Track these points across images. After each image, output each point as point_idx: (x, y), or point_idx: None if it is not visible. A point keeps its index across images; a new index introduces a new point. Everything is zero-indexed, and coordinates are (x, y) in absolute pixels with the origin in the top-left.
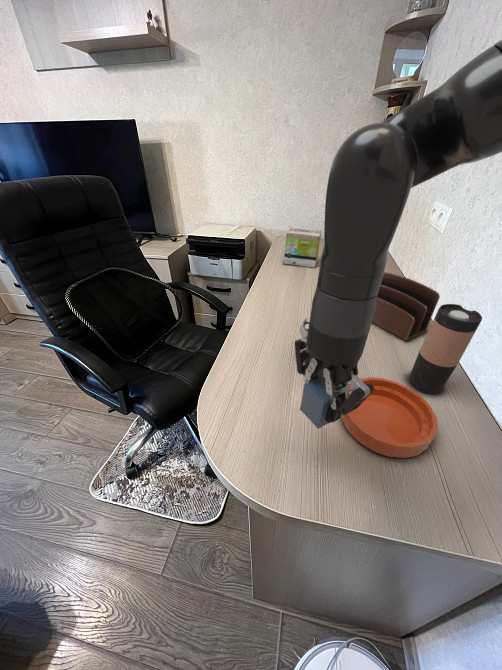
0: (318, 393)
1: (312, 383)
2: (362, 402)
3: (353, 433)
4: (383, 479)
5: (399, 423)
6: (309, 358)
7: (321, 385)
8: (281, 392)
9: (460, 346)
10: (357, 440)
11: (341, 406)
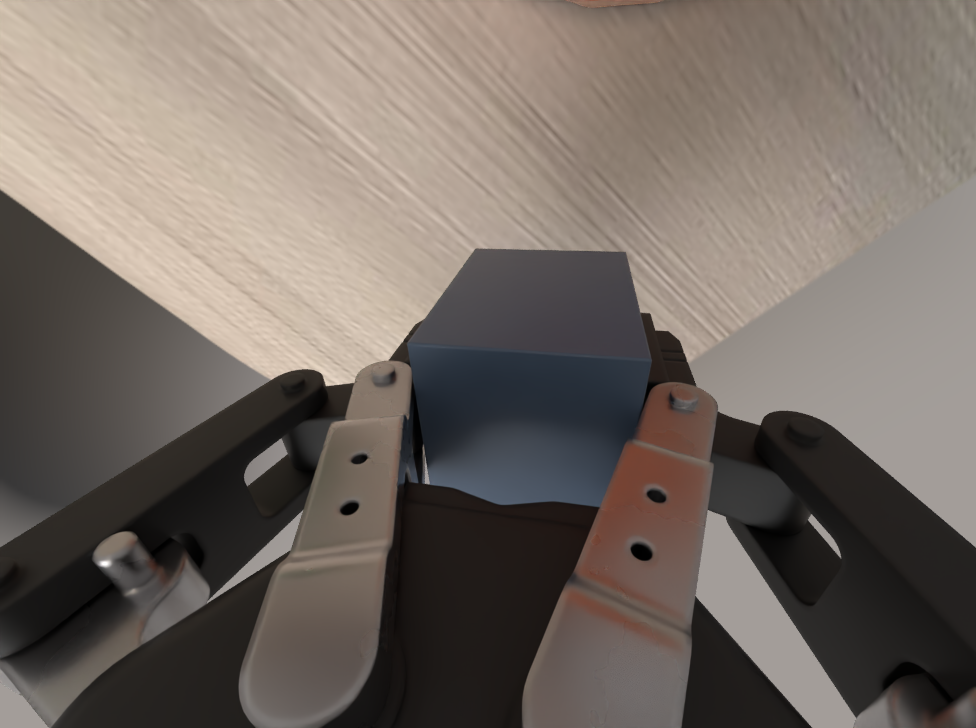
0: (538, 498)
1: (449, 469)
2: (931, 518)
3: (617, 2)
4: (832, 40)
5: None
6: (242, 463)
7: (491, 442)
8: (291, 148)
9: None
10: (647, 2)
11: (749, 550)
